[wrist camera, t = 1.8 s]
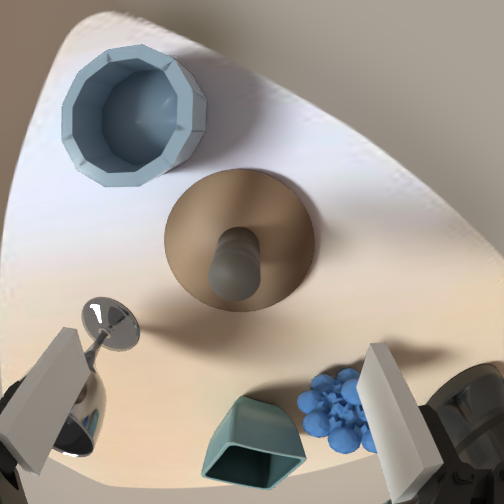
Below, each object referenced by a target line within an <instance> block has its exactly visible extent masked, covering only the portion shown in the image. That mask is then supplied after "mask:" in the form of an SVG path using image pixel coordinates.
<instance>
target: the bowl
mask: <svg viewBox="0 0 504 504" xmlns="http://www.w3.org/2000/svg"><path fill="white" fill-rule="evenodd" d="M62 105H63V106H62V123H61V128H62V140H63V141H62V142H63V144H64V146H65V148H66V150H67V152H68V154H69V156H70V158H71V160H72V162H73V163H74V165H75V167H76V169H77V170H78V171H79V172H81V173H82V174H84V175H86V176H87V177H89V178H91V179H92V180H94V181H96V182H97V183H99V184H101V185H102V186H104V187H137V186H141V185H143V184H145V183H147V182H149V181H151V180H153V179H155V178H157V177H159V176H161V175H163V174H164V173H166V172H168V171H169V170H171V169H173V168H174V167H176V166H178V165H179V164H181V163H183V162H184V161H186V160H188V159H189V158H190V157H191V155H192V153H193V151H194V150H195V148H196V146H197V145H198V143H199V141H200V140H201V138H202V136H203V135H204V133H205V131H206V105H207V100H206V98H205V96H204V94H203V92H202V91H201V89H200V87H199V86H198V84H197V82H196V80H195V79H194V77H193V75H192V74H191V73H190V72H189V71H188V70H187V69H185V68H184V67H183V66H182V65H181V64H180V63H178V62H177V61H176V60H175V59H173V58H171V57H169V56H167V55H165V54H163V53H161V52H158V51H156V50H154V49H152V48H150V47H147V46H145V45H142V44H141V45H134V46H127V47H120V48H114V49H109V50H106V51H105V52H103V53H102V54H101V55H99V56H98V57H97V58H95V59H94V60H93V61H92V62H90V63H89V64H88V65H86V66H85V67H84V68H83V69H81V70H80V71H79V73H77V75H76V77H75V79H74V81H73V83H72V85H71V87H70V89H69V91H68V93H67V95H66V97H65V99H64V102H63V104H62Z"/></svg>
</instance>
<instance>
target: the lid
mask: <svg viewBox="0 0 504 504" xmlns="http://www.w3.org/2000/svg"><path fill="white" fill-rule="evenodd" d="M164 245H165V253H166V257H167V261H168V263H169V266H170V268H171V271H172V272H173V274H174V276H175V278H176V279H177V280H178V282H179V283H180V284H181V286H182V287H183V288H184V289H185V290H186V291H187V292H188V293H190V294H191V295H192V296H193V297H195V298H196V299H198V300H199V301H201V302H203V303H205V304H207V305H209V306H212V307H214V308H217V309H221V310H225V311H233V312H249V311H256V310H260V309H264V308H267V307H269V306H272V305H274V304H276V303H278V302H280V301H281V300H283V299H284V298H286V297H287V296H288V295H290V294H291V293H292V292H293V291H294V290H295V289H296V288H297V287H298V286H299V285H300V283H301V282H302V280H303V279H304V277H305V276H306V274H307V272H308V270H309V267H310V265H311V262H312V258H313V253H314V232H313V227H312V223H311V220H310V218H309V215H308V213H307V211H306V209H305V208H304V206H303V204H302V202H301V201H300V200H299V198H298V197H297V196H296V194H295V193H294V192H293V191H292V190H291V189H290V188H288V187H287V186H286V185H285V184H283V183H282V182H281V181H279V180H277V179H275V178H273V177H272V176H269V175H267V174H264V173H261V172H257V171H253V170H245V169H231V170H225V171H220V172H217V173H213V174H211V175H209V176H206V177H204V178H202V179H201V180H199V181H198V182H196V183H195V184H193V185H192V186H191V187H190V188H189V189H187V190H186V191H185V192H184V193H183V195H182V196H181V197H180V198H179V199H178V200H177V202H176V204H175V205H174V207H173V208H172V210H171V212H170V215H169V217H168V220H167V223H166V228H165V235H164Z"/></svg>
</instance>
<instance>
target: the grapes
mask: <svg viewBox="0 0 504 504" xmlns="http://www.w3.org/2000/svg"><path fill="white" fill-rule="evenodd" d="M359 377H360V373H359V372H358V371H357V370H355V369H352V368H346V369H343V370H341V371H340V372H339V373H338V374H337V376H336V380H335V379H334V378H333V377H332V376H330V375H327V374H321V375H318V376H316V377H315V378H314V379H312V382H311V388H312V390H308V391H305V392H302V393H301V394H300V395H299V397H298V400H297V404H298V407H299V409H300V410H301V411H302V412H303V413H306V414H307V415H306V416H305V417H304V420H303V427H304V430H305V431H306V432H307V433H308V434H309V435H311V436H314V437H318V438H320V437H325V436H328V442H329V445H330V447H331V448H332V449H333V450H334V451H336V452H339V453H343V454H348V453H352V452H354V451H355V450H357V449H358V448H359V447H360V443H362V445H363V447H364V448H365V449H366V450H367V451H369V452H373V453H377V450H376V447H375V443H374V440H373V437H372V434H371V431H370V428H369V425H368V421H367V418H366V415H365V412H364V409H363V406H362V403H361V400H360V397H359V394H358V391H357V388H356V386H357V384H358V381H359Z"/></svg>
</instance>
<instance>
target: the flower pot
mask: <svg viewBox="0 0 504 504" xmlns="http://www.w3.org/2000/svg"><path fill="white" fill-rule="evenodd" d="M306 459H307V458H306V455H305V452H304V449H303V445H302V442H301V439H300V436H299V433H298V430H297V428H296V426H295V424H294V422H293V421H292V419H291V418H290V417H289V416H288V415H287V414H286V413H285V412H284V411H283V410H281V409H280V408H279V407H278V406H276V405H272V404H268V403H264V402H261V401H257V400H254V399H251V398H247V397H243V396H242V397H239V398H238V399H237V400H236V402H235V403H234V405H233V406H232V408H231V409H230V410H229V412H228V413H227V415H226V416H225V418H224V419H223V421H222V422H221V423H220V425H219V426H218V428H217V429H216V431H215V432H214V434H213V436H212V438H211V440H210V443H209V445H208V449H207V453H206V457H205V460H204V464H203V468H202V472H201V476H202V477H204V478H207V479H212V480H216V481H221V482H225V483H230V484H235V485H241V486H246V487H251V488H257V489H262V490H271V489H272V488H274V487H275V486H276V485H277V484H279V483H280V482H281V481H282V480H283V479H285V478H286V477H287V476H288V475H289V474H290V473H292V472H293V471H294V470H295V469H296V468H298V467H299V466H300V465H301V464H303V463H304V462H305V460H306Z"/></svg>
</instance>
